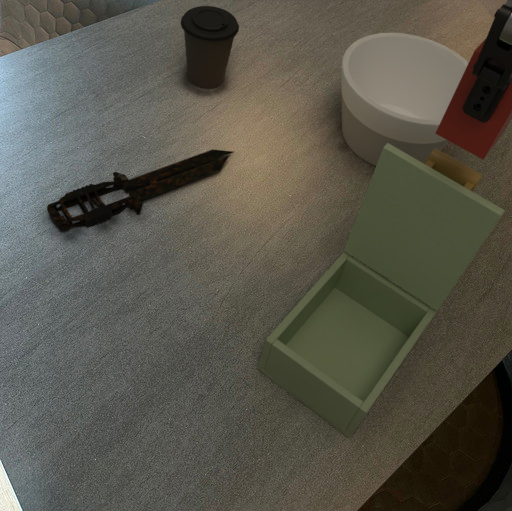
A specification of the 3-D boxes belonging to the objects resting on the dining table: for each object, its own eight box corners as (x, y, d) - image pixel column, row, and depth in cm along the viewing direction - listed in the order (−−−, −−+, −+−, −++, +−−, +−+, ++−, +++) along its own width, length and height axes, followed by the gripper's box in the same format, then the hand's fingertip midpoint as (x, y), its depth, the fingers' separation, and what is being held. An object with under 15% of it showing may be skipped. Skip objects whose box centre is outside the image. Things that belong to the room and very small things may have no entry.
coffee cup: (226, 100, 91) (232, 39, 83) (171, 87, 91) (173, 25, 83) (238, 67, 96) (245, 8, 88) (186, 55, 96) (189, -6, 88)
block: (503, 133, 53) (551, 51, 46) (483, 160, 50) (530, 78, 44) (456, 108, 54) (497, 25, 48) (434, 133, 51) (474, 50, 45)
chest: (349, 438, 62) (366, 413, 57) (256, 369, 65) (265, 339, 60) (417, 341, 70) (437, 311, 65) (331, 283, 73) (344, 250, 68)
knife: (228, 148, 85) (229, 140, 84) (251, 180, 82) (252, 173, 81) (42, 200, 75) (40, 191, 74) (59, 238, 72) (57, 231, 71)
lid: (501, 215, 52) (524, 181, 55) (383, 146, 55) (410, 118, 58) (437, 311, 64) (458, 280, 67) (343, 250, 68) (367, 223, 70)
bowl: (473, 183, 87) (508, 124, 78) (341, 186, 83) (362, 124, 75) (430, 93, 98) (456, 33, 90) (311, 93, 94) (327, 29, 86)
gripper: (648, -72, 31) (496, 171, 44) (704, -144, 39) (560, 82, 52) (509, -129, 33) (405, 121, 46) (589, -186, 41) (480, 42, 54)
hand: (488, 99), depth 49 cm, fingers closed on block, 4 cm apart
